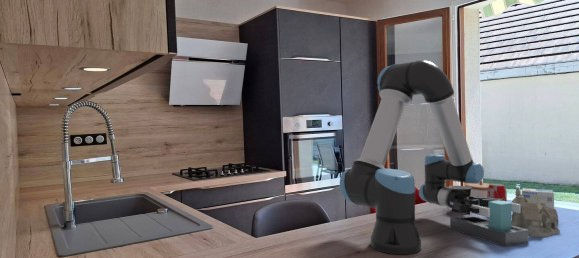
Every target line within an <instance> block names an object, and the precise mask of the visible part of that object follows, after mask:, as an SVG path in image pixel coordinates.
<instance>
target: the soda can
mask: <svg viewBox="0 0 579 258" xmlns="http://www.w3.org/2000/svg"><path fill="white" fill-rule="evenodd" d="M488 184H489V186H488V188H487V198H494V199H502V198H504V199H505V200H506V202H508V194H507V192H508V191H507V188H506V185H505V184H504V183H496V182H490V183H488ZM486 208H488V207H486Z"/></svg>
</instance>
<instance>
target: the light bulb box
mask: <svg viewBox="0 0 579 258" xmlns="http://www.w3.org/2000/svg"><path fill="white" fill-rule="evenodd" d="M521 195H523V196H524V197H525V198H526V199H527V200H528V201H529V203H537V204H538V205H541V202H545V208H553V209H555V192H554V189H540V188H539V189H538V188H522V189H521Z"/></svg>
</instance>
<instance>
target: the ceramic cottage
mask: <svg viewBox="0 0 579 258" xmlns="http://www.w3.org/2000/svg"><path fill="white" fill-rule="evenodd" d="M511 203H515V204H520V205H521V213H517V212H511V225H512V226H516V227H519V228H523V229H527V230H528V238H529V237H530V238H544V237H549V236H553V235H557V234H560V233H561V230H560V228H559V227H558V226H559V222H560V221H559V215H558V211H557V209H556V208H554V209H553V208H545V202H541V205H538V204H537V203H529V201H528V200H527V199H526V198H525V197H524V196H523V195H522V191H521V190H520V187H519V186H516V187H515V197H514V198H513V199H512V202H511Z"/></svg>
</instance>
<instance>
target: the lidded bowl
mask: <svg viewBox="0 0 579 258" xmlns="http://www.w3.org/2000/svg"><path fill="white" fill-rule="evenodd" d="M489 184H490V183H486V182H483V180H481V182H480V183H477V184H473V183H465V186H467V187H471V195H470V196H474V197H477V196H479V197H485V198H487V188H488V186H489ZM478 205H480V204H478Z"/></svg>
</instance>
